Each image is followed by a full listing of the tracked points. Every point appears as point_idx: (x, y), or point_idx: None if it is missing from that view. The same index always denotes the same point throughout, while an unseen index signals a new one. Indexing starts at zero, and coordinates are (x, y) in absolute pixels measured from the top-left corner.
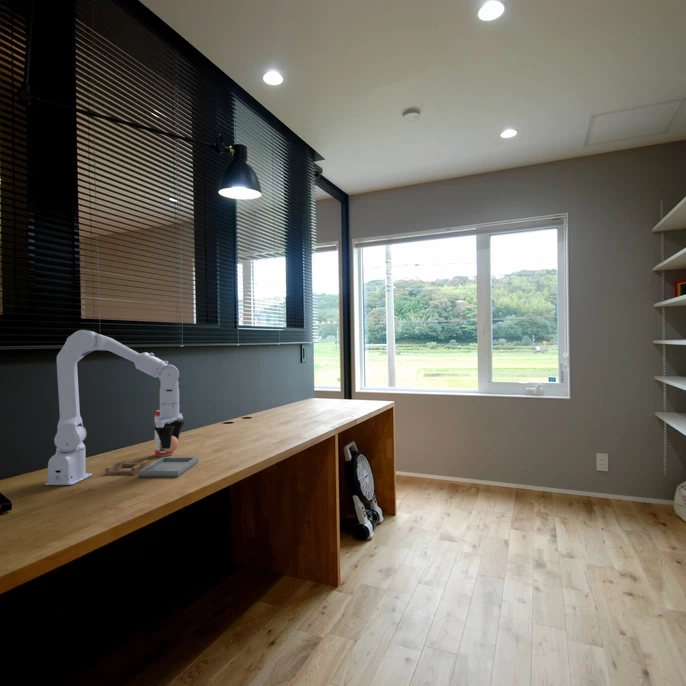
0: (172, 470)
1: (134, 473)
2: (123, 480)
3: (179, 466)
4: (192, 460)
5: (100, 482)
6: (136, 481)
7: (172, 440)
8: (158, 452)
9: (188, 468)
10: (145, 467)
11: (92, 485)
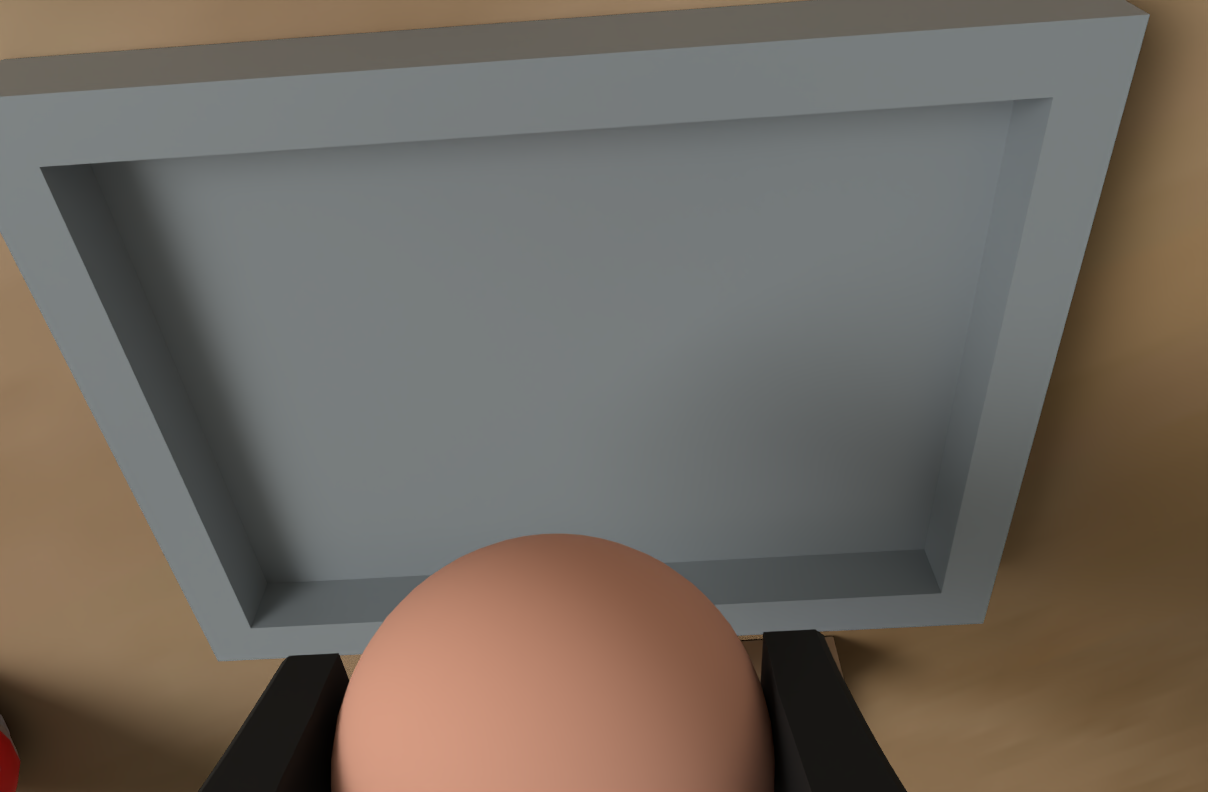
0: (1070, 165)
1: (835, 649)
2: (1057, 635)
3: (501, 250)
4: (270, 92)
5: (1074, 765)
6: (1149, 502)
7: (693, 786)
8: (4, 786)
9: (561, 24)
10: (799, 625)
11: (1163, 775)
